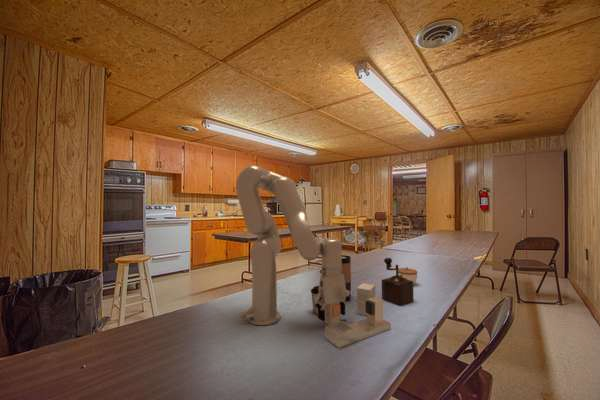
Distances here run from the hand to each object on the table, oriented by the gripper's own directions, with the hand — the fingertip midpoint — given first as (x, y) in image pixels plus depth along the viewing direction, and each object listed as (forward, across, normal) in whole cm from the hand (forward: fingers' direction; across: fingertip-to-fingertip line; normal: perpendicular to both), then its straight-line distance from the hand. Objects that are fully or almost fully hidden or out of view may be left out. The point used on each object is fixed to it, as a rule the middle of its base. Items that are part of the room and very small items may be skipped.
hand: (331, 316), depth 99 cm
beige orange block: (+2, 0, 0) cm, 2 cm away
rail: (+2, +3, -11) cm, 12 cm away
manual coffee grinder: (+3, +41, +5) cm, 41 cm away
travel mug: (+2, +20, +17) cm, 26 cm away
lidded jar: (+3, +66, +16) cm, 68 cm away
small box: (+3, +19, +1) cm, 19 cm away
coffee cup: (+2, +2, +11) cm, 11 cm away
